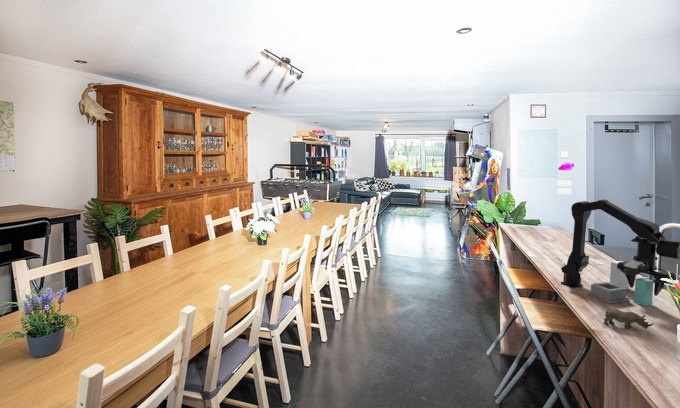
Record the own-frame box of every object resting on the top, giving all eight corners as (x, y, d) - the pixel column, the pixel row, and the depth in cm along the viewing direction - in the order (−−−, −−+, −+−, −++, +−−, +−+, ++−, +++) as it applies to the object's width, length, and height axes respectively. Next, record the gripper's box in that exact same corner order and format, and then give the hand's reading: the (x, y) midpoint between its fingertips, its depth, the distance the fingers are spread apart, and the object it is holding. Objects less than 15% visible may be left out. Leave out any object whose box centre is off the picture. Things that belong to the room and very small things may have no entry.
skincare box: (620, 285, 166) (622, 260, 164) (629, 289, 161) (631, 262, 160) (608, 286, 165) (610, 261, 164) (617, 290, 161) (618, 263, 159)
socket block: (587, 294, 157) (588, 283, 156) (605, 292, 159) (606, 281, 158) (610, 303, 147) (610, 291, 146) (628, 300, 149) (629, 288, 149)
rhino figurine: (653, 334, 121) (655, 318, 120) (603, 325, 129) (604, 309, 128) (652, 329, 125) (653, 313, 124) (603, 320, 132) (604, 305, 132)
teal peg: (633, 302, 147) (635, 278, 146) (641, 301, 148) (643, 277, 147) (644, 306, 144) (645, 281, 142) (651, 304, 145) (653, 280, 143)
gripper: (607, 250, 151) (605, 286, 153) (656, 262, 133) (653, 302, 135) (628, 247, 153) (625, 283, 155) (678, 259, 135) (675, 298, 137)
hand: (643, 291), depth 145 cm, fingers open, 9 cm apart
